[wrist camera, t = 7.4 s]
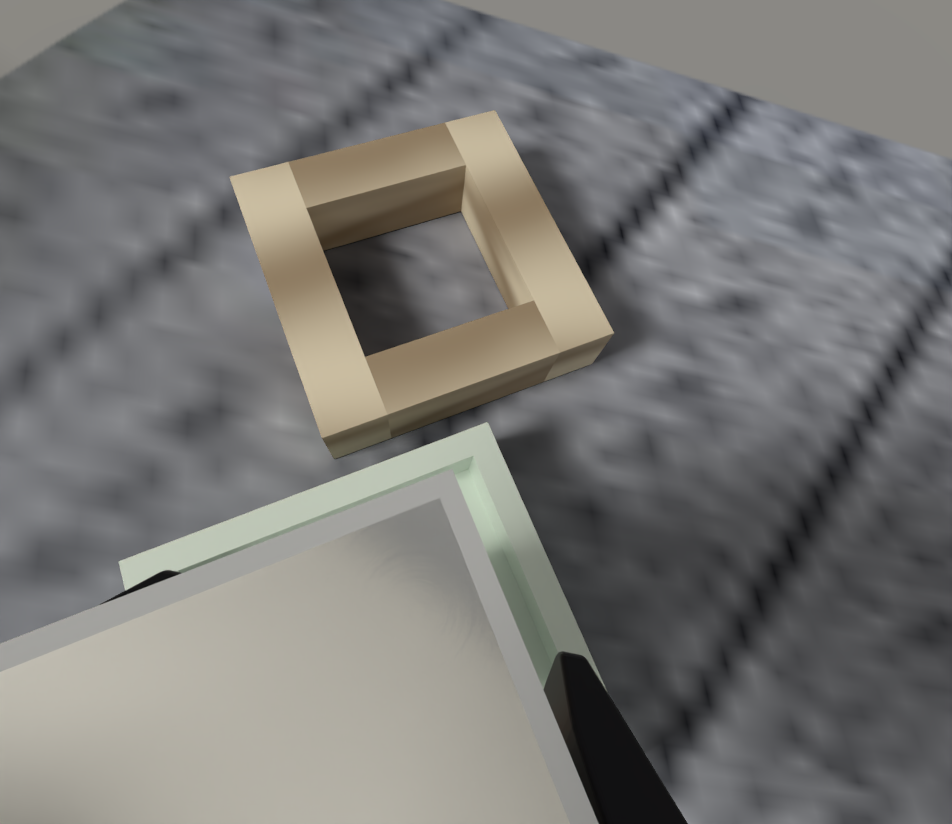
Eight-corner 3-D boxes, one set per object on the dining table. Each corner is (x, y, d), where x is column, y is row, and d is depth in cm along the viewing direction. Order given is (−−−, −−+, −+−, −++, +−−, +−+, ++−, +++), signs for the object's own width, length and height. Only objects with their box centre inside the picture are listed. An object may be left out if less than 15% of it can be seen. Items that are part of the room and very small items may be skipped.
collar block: (592, 363, 21) (614, 333, 18) (334, 459, 19) (322, 438, 16) (487, 160, 23) (494, 110, 21) (250, 224, 21) (229, 176, 19)
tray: (620, 768, 17) (653, 795, 14) (260, 966, 14) (229, 1036, 12) (479, 444, 19) (487, 422, 17) (159, 567, 17) (118, 561, 15)
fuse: (492, 731, 14) (692, 1055, 4) (321, 817, 13) (-18, 1548, 3) (428, 563, 15) (451, 469, 5) (267, 631, 14) (-108, 684, 4)
